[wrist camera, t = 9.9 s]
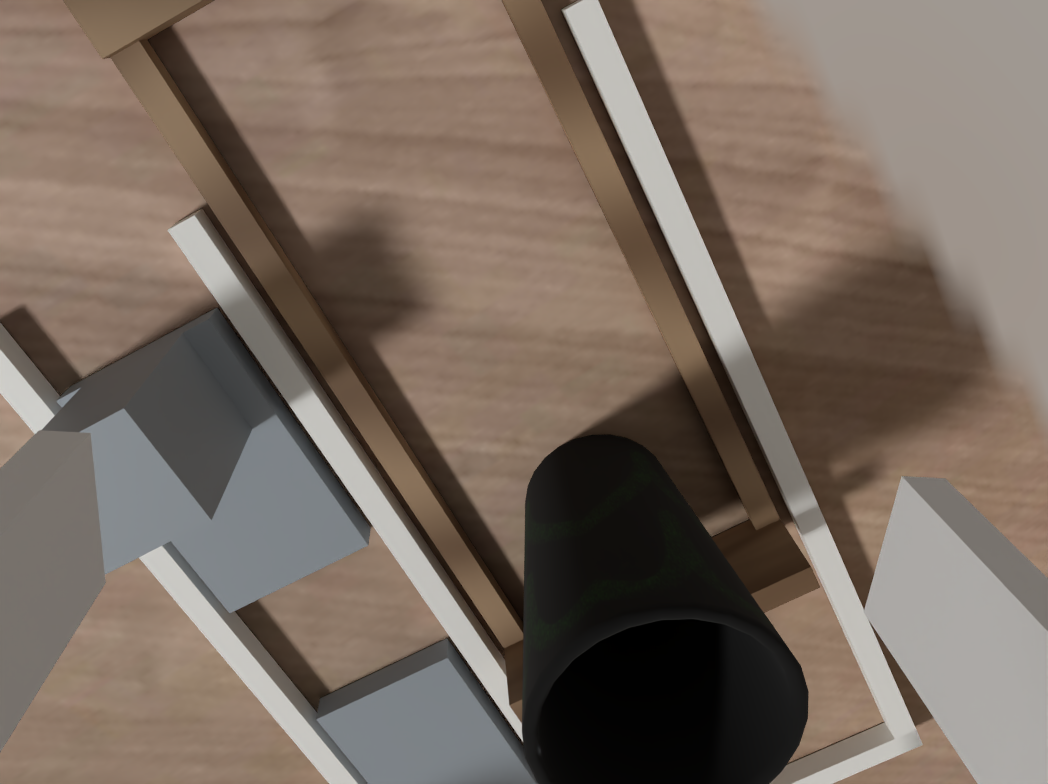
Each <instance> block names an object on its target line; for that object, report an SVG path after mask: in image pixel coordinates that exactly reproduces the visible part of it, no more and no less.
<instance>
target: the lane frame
mask: <svg viewBox="0 0 1048 784" xmlns="http://www.w3.org/2000/svg"><path fill="white" fill-rule="evenodd" d="M561 11H562V13H563V15H564V17H565V20H566V22H567V24H568V26H569V28H570V31H571V33H572V35H573V37H574V39H575V42H576V44H577V46H578V48H579V51H580V53H581V55H582V57H583V59H584V62H585V64H586V66H587V68H588V70H589V73H590V75H591V77H592V79H593V81H594V84H595V86H596V88H597V90H598V92H599V95H600V97H601V99H602V101H603V103H604V106H605V108H606V110H607V112H608V114H609V117H610V119H611V121H612V123H613V125H614V128H615V130H616V132H617V134H618V136H619V139H620V141H621V143H622V145H623V147H624V150H625V152H626V154H627V156H628V158H629V161H630V163H631V165H632V167H633V169H634V172H635V174H636V176H637V178H638V180H639V183H640V185H641V187H642V189H643V191H644V194H645V196H646V198H647V200H648V202H649V205H650V207H651V209H652V211H653V213H654V216H655V218H656V220H657V222H658V224H659V227H660V229H661V231H662V233H663V235H664V238H665V240H666V242H667V244H668V246H669V249H670V251H671V253H672V255H673V257H674V260H675V262H676V264H677V266H678V268H679V271H680V273H681V275H682V277H683V279H684V282H685V284H686V286H687V288H688V290H689V293H690V295H691V297H692V299H693V301H694V304H695V306H696V308H697V310H698V312H699V315H700V317H701V319H702V321H703V323H704V326H705V328H706V330H707V332H708V335H709V337H710V339H711V341H712V343H713V346H714V348H715V350H716V352H717V354H718V357H719V359H720V361H721V363H722V365H723V368H724V370H725V372H726V374H727V376H728V379H729V381H730V383H731V385H732V387H733V390H734V392H735V394H736V396H737V398H738V401H739V403H740V405H741V407H742V409H743V412H744V414H745V416H746V418H747V420H748V423H749V425H750V427H751V429H752V431H753V434H754V436H755V438H756V440H757V442H758V445H759V447H760V449H761V451H762V453H763V456H764V458H765V460H766V462H767V464H768V467H769V469H770V471H771V473H772V475H773V478H774V480H775V482H776V484H777V486H778V489H779V491H780V493H781V495H782V497H783V500H784V502H785V504H786V506H787V508H788V511H789V513H790V515H791V517H792V519H793V522H794V524H795V526H796V528H797V530H798V533H799V535H800V537H801V539H802V541H803V544H804V546H805V548H806V550H807V552H808V555H809V557H810V559H811V561H812V563H813V566H814V568H815V570H816V572H817V574H818V577H819V579H820V581H821V583H822V585H823V588H824V590H825V592H826V594H827V596H828V599H829V601H830V603H831V605H832V607H833V610H834V612H835V614H836V616H837V619H838V621H839V623H840V625H841V627H842V630H843V632H844V634H845V636H846V638H847V641H848V643H849V645H850V647H851V649H852V652H853V654H854V656H855V658H856V660H857V663H858V665H859V667H860V669H861V671H862V674H863V676H864V678H865V680H866V682H867V685H868V687H869V689H870V691H871V693H872V696H873V698H874V700H875V702H876V704H877V707H878V709H879V711H880V713H881V715H882V718H883V720H884V723H882V724H880V725H878V726H875V727H873V728H871V729H868V730H866V731H864V732H861V733H859V734H857V735H854V736H852V737H850V738H848V739H845V740H843V741H841V742H838V743H836V744H834V745H831V746H829V747H827V748H825V749H822V750H820V751H818V752H815V753H813V754H811V755H808V756H806V757H804V758H801V759H799V760H797V761H795V762H792V763H790V764H788V765H786V766H785V768H784V769H783V771H782V772H781V773H780V774H779V775H778V776H777V777H776V778H775V779H774V780H773V781H772V782H771V783H770V784H832V783H835V782H837V781H839V780H842V779H844V778H846V777H849V776H851V775H853V774H856V773H858V772H861V771H863V770H865V769H868V768H870V767H872V766H875V765H877V764H879V763H882V762H884V761H886V760H889V759H891V758H893V757H896V756H898V755H900V754H903V753H905V752H907V751H910V750H912V749H914V748H917V747H919V746H921V745H923V744H922V742H921V740H920V737H919V735H918V733H917V730H916V728H915V726H914V723H913V721H912V719H911V717H910V714H909V712H908V710H907V707H906V705H905V703H904V701H903V698H902V696H901V694H900V691H899V689H898V687H897V684H896V682H895V680H894V678H893V675H892V673H891V671H890V668H889V666H888V664H887V662H886V659H885V657H884V655H883V652H882V650H881V648H880V645H879V643H878V641H877V639H876V636H875V634H874V632H873V629H872V627H871V625H870V623H869V620H868V618H867V617H866V615H865V614H864V609H863V607H862V604H861V602H860V600H859V597H858V595H857V593H856V590H855V588H854V586H853V584H852V581H851V579H850V577H849V574H848V572H847V570H846V568H845V565H844V563H843V561H842V558H841V556H840V554H839V551H838V549H837V547H836V545H835V542H834V540H833V538H832V535H831V533H830V531H829V529H828V526H827V524H826V522H825V519H824V517H823V515H822V513H821V510H820V508H819V506H818V503H817V501H816V499H815V496H814V494H813V492H812V490H811V487H810V485H809V483H808V480H807V478H806V476H805V474H804V471H803V469H802V467H801V464H800V462H799V460H798V457H797V455H796V453H795V451H794V448H793V446H792V444H791V441H790V439H789V437H788V435H787V432H786V430H785V428H784V425H783V423H782V421H781V418H780V416H779V414H778V412H777V409H776V407H775V405H774V402H773V400H772V398H771V396H770V393H769V391H768V389H767V386H766V384H765V382H764V380H763V377H762V375H761V373H760V370H759V368H758V366H757V363H756V361H755V359H754V357H753V354H752V352H751V350H750V347H749V345H748V343H747V341H746V338H745V336H744V334H743V331H742V329H741V327H740V324H739V322H738V320H737V318H736V315H735V313H734V311H733V308H732V306H731V304H730V302H729V299H728V297H727V295H726V292H725V290H724V288H723V285H722V283H721V281H720V279H719V276H718V274H717V272H716V269H715V267H714V265H713V263H712V260H711V258H710V256H709V253H708V251H707V249H706V247H705V244H704V242H703V240H702V237H701V235H700V233H699V230H698V228H697V226H696V224H695V221H694V219H693V217H692V214H691V212H690V210H689V208H688V205H687V203H686V201H685V198H684V196H683V194H682V191H681V189H680V187H679V185H678V182H677V180H676V178H675V175H674V173H673V171H672V169H671V166H670V164H669V162H668V159H667V157H666V155H665V153H664V150H663V148H662V146H661V143H660V141H659V139H658V136H657V134H656V132H655V130H654V127H653V125H652V123H651V120H650V118H649V116H648V114H647V111H646V109H645V107H644V104H643V102H642V100H641V97H640V95H639V93H638V91H637V88H636V86H635V84H634V81H633V79H632V77H631V75H630V72H629V70H628V68H627V65H626V63H625V61H624V58H623V56H622V54H621V52H620V49H619V47H618V45H617V42H616V40H615V38H614V36H613V33H612V31H611V29H610V26H609V24H608V22H607V20H606V17H605V15H604V13H603V10H602V8H601V6H600V3H599V1H598V0H577V1H576V2H574V3H572V4H570V5H568V6H567V7H565V8H563V9H561ZM168 231H169V233H170V234H171V236H172V237H173V239H174V240H175V241H176V243H177V244H178V246H179V247H180V249H181V250H182V252H183V253H184V254H185V256H186V257H187V259H188V260H189V262H190V263H191V265H192V266H193V267H194V269H195V270H196V272H197V273H198V275H199V276H200V277H201V279H202V280H203V282H204V283H205V285H206V286H207V288H208V289H209V290H210V292H211V293H212V295H213V296H214V298H215V299H216V301H217V302H218V303H219V305H220V306H221V308H222V309H223V311H224V312H225V314H226V315H227V316H228V318H229V319H230V321H231V322H232V324H233V325H234V326H235V328H236V329H237V331H238V332H239V334H240V335H241V337H242V338H243V339H244V341H245V342H246V344H247V345H248V347H249V348H250V350H251V351H252V352H253V354H254V355H255V357H256V358H257V360H258V361H259V362H260V364H261V365H262V367H263V368H264V370H265V371H266V373H267V374H268V375H269V377H270V378H271V380H272V381H273V383H274V384H275V386H276V387H277V388H278V390H279V391H280V393H281V394H282V396H283V397H284V399H285V400H286V401H287V403H288V404H289V406H290V407H291V409H292V410H293V411H294V413H295V414H296V416H297V417H298V419H299V420H300V422H301V423H302V424H303V426H304V427H305V429H306V430H307V432H308V433H309V435H310V436H311V437H312V439H313V440H314V442H315V443H316V445H317V446H318V447H319V449H320V450H321V452H322V453H323V455H324V456H325V458H326V459H327V460H328V462H329V463H330V465H331V466H332V468H333V469H334V471H335V472H336V473H337V475H338V476H339V478H340V479H341V481H342V482H343V484H344V485H345V486H346V488H347V489H348V491H349V492H350V494H351V495H352V496H353V498H354V499H355V501H356V502H357V504H358V505H359V507H360V508H361V509H362V511H363V512H364V514H365V515H366V517H367V518H368V520H369V521H370V522H371V524H372V525H373V527H374V528H375V530H376V531H377V533H378V534H379V535H380V537H381V538H382V540H383V541H384V543H385V544H386V545H387V547H388V548H389V550H390V551H391V553H392V554H393V556H394V557H395V558H396V560H397V561H398V563H399V564H400V566H401V567H402V569H403V570H404V571H405V573H406V574H407V576H408V577H409V579H410V580H411V581H412V583H413V584H414V586H415V587H416V589H417V590H418V592H419V593H420V594H421V596H422V597H423V599H424V600H425V602H426V603H427V605H428V606H429V607H430V609H431V610H432V612H433V613H434V615H435V616H436V618H437V619H438V620H439V622H440V623H441V625H442V626H443V628H444V629H445V630H446V632H447V633H448V635H449V636H450V638H451V639H452V641H453V642H454V643H455V645H456V646H457V648H458V649H459V651H460V652H461V654H462V655H463V656H464V658H465V659H466V661H467V662H468V664H469V665H470V666H471V668H472V669H473V671H474V672H475V674H476V675H477V677H478V678H479V679H480V681H481V682H482V684H483V685H484V687H485V688H486V690H487V691H488V692H489V694H490V695H491V697H492V698H493V700H494V701H495V703H496V704H497V705H498V707H499V708H500V710H501V711H502V713H503V714H504V715H505V717H506V718H507V720H508V721H509V723H510V724H511V726H512V727H513V728H514V730H515V731H516V733H517V734H518V736H519V737H520V739H521V740H522V741H523V737H522V723H521V722H520V720H519V719H518V717H517V716H516V714H515V713H514V712H513V710H512V709H511V707H510V706H509V698H508V687H507V676H506V665H505V659H504V658H503V656H502V655H501V653H500V652H499V651H498V649H497V648H496V646H495V645H494V643H493V642H492V640H491V639H490V637H489V636H488V634H487V633H486V631H485V630H484V628H483V627H482V625H481V624H480V622H479V621H478V619H477V618H476V616H475V615H474V613H473V612H472V610H471V609H470V607H469V606H468V604H467V603H466V601H465V600H464V598H463V597H462V595H461V594H460V592H459V591H458V589H457V588H456V586H455V585H454V583H453V582H452V580H451V579H450V577H449V576H448V574H447V573H446V571H445V570H444V568H443V567H442V565H441V564H440V562H439V561H438V559H437V558H436V557H435V555H434V554H433V552H432V551H431V549H430V548H429V546H428V545H427V543H426V542H425V540H424V539H423V537H422V536H421V534H420V533H419V531H418V530H417V528H416V527H415V525H414V524H413V522H412V521H411V519H410V518H409V516H408V515H407V513H406V512H405V510H404V509H403V507H402V506H401V504H400V503H399V501H398V500H397V498H396V497H395V495H394V494H393V492H392V491H391V489H390V488H389V486H388V485H387V483H386V482H385V480H384V479H383V477H382V476H381V474H380V473H379V471H378V470H377V468H376V467H375V465H374V464H373V462H372V461H371V460H370V458H369V457H368V455H367V454H366V452H365V451H364V449H363V448H362V446H361V445H360V443H359V442H358V440H357V439H356V437H355V436H354V434H353V433H352V431H351V430H350V428H349V427H348V425H347V424H346V422H345V421H344V419H343V418H342V416H341V415H340V413H339V412H338V410H337V409H336V407H335V406H334V404H333V403H332V401H331V400H330V398H329V397H328V395H327V394H326V392H325V391H324V389H323V388H322V386H321V385H320V383H319V382H318V380H317V379H316V377H315V376H314V374H313V373H312V371H311V370H310V368H309V367H308V366H307V364H306V363H305V361H304V360H303V358H302V357H301V355H300V354H299V352H298V351H297V349H296V348H295V346H294V345H293V343H292V342H291V340H290V339H289V337H288V336H287V334H286V333H285V331H284V330H283V328H282V327H281V325H280V324H279V322H278V321H277V319H276V318H275V316H274V315H273V313H272V312H271V310H270V309H269V307H268V306H267V304H266V303H265V301H264V300H263V298H262V297H261V295H260V294H259V292H258V291H257V289H256V288H255V286H254V285H253V283H252V282H251V280H250V279H249V277H248V276H247V274H246V273H245V272H244V270H243V269H242V267H241V266H240V264H239V263H238V261H237V260H236V258H235V257H234V255H233V254H232V252H231V251H230V249H229V248H228V246H227V245H226V243H225V242H224V240H223V239H222V237H221V236H220V234H219V233H218V231H217V230H216V228H215V227H214V225H213V224H212V222H211V221H210V219H209V218H208V216H207V215H206V213H205V212H204V210H203V209H200V210H199V211H197V212H195V213H193V214H191V215H190V216H188V217H186V218H184V219H182V220H181V221H179V222H177V223H175V224H174V225H173V226H172V227H171V228H170V229H168ZM0 393H1V394H2V396H3V397H4V398H5V399H6V400H7V401H8V403H9V404H10V405H11V406H12V407H13V409H14V410H15V411H16V412H17V413H18V415H19V416H20V417H21V418H22V419H23V420H24V422H25V423H26V424H27V425H28V426H29V428H30V429H31V430H32V431H33V432H34V434H36V433H37V432H38V431H39V430H42V429H43V428H44V427H45V426H46V425H47V423H48V422H49V421H50V420H51V419H52V418H53V417H54V416H55V415H56V414H57V413H58V412H59V411H60V410H61V408H62V407H61V406H60V405H59V404H58V403H57V399H58V398H59V397H60V396H59V394H58V393H57V392H56V391H55V389H54V388H53V387H52V386H51V384H50V383H49V382H48V381H47V380H46V378H45V377H44V376H43V375H42V373H41V372H40V371H39V370H38V368H37V367H36V366H35V365H34V363H33V362H32V361H31V360H30V359H29V357H28V356H27V355H26V354H25V352H24V351H23V350H22V349H21V347H20V346H19V345H18V344H17V343H16V341H15V340H14V339H13V338H12V336H11V335H10V334H9V333H8V331H7V330H6V329H5V328H4V327H3V325H2V324H1V323H0ZM139 558H140V559H141V561H142V562H143V563H144V564H145V565H146V567H147V568H148V569H149V570H150V571H151V572H152V574H153V575H154V576H155V577H156V578H157V580H158V581H159V582H160V583H161V584H162V586H163V587H164V588H165V589H166V590H167V591H168V593H169V594H170V595H171V596H172V597H173V599H174V600H175V601H176V602H177V603H178V605H179V606H180V607H181V608H182V609H183V610H184V612H185V613H186V614H187V615H188V616H189V618H190V619H191V620H192V621H193V622H194V624H195V625H196V626H197V627H198V628H199V629H200V631H201V632H202V633H203V634H204V635H205V637H206V638H207V639H208V640H209V641H210V643H211V644H212V645H213V646H214V647H215V648H216V650H217V651H218V652H219V653H220V654H221V656H222V657H223V658H224V659H225V660H226V662H227V663H228V664H229V665H230V666H231V667H232V669H233V670H234V671H235V672H236V673H237V675H238V676H239V677H240V678H241V679H242V681H243V682H244V683H245V684H246V685H247V686H248V688H249V689H250V690H251V691H252V692H253V694H254V695H255V696H256V697H257V698H258V700H259V701H260V702H261V703H262V704H263V705H264V707H265V708H266V709H267V710H268V711H269V713H270V714H271V715H272V716H273V717H274V719H275V720H276V721H277V722H278V723H279V724H280V726H281V727H282V728H283V729H284V730H285V732H286V733H287V734H288V735H289V736H290V738H291V739H292V740H293V741H294V742H295V744H296V745H297V746H298V747H299V748H300V749H301V751H302V752H303V753H304V754H305V755H306V757H307V758H308V759H309V760H310V761H311V763H312V764H313V765H314V766H315V767H316V768H317V770H318V771H319V772H320V773H321V774H322V776H323V777H324V778H325V779H326V780H327V782H328V783H329V784H538V783H537V781H536V779H535V777H534V775H533V773H532V771H531V769H530V767H529V765H528V763H527V761H526V759H525V752H524V748H523V746H522V745H521V743H520V742H519V740H518V739H517V738H516V736H515V735H514V733H513V732H512V730H511V729H510V728H509V726H508V725H507V723H506V722H505V720H504V719H503V717H502V716H501V715H500V713H499V712H498V710H497V709H496V707H495V706H494V705H493V703H492V702H491V700H490V699H489V697H488V696H487V694H486V693H485V692H484V690H483V689H482V687H481V686H480V684H479V683H478V682H477V680H476V679H475V677H474V676H473V674H472V673H471V672H470V670H469V669H468V667H467V666H466V664H465V663H464V661H463V660H462V659H461V657H460V656H459V654H458V653H457V651H456V650H455V649H454V647H453V646H452V644H451V643H450V641H449V640H448V638H447V639H445V640H443V641H440V642H438V643H436V644H434V645H432V646H430V647H428V648H426V649H423V650H421V651H419V652H417V653H415V654H413V655H411V656H409V657H407V658H404V659H402V660H400V661H398V662H396V663H394V664H392V665H390V666H388V667H385V668H383V669H381V670H379V671H377V672H375V673H373V674H371V675H369V676H366V677H364V678H362V679H360V680H358V681H356V682H354V683H352V684H350V685H347V686H345V687H343V688H341V689H339V690H337V691H335V692H333V693H330V694H328V695H326V696H324V697H322V698H320V701H319V706H318V712H316V711H315V710H314V708H313V707H312V706H311V705H310V703H309V702H308V701H307V700H306V699H305V697H304V696H303V695H302V694H301V692H300V691H299V690H298V689H297V687H296V686H295V685H294V684H293V682H292V681H291V680H290V679H289V678H288V676H287V675H286V674H285V673H284V671H283V670H282V669H281V668H280V666H279V665H278V664H277V663H276V662H275V660H274V659H273V658H272V657H271V655H270V654H269V653H268V652H267V650H266V649H265V648H264V647H263V646H262V644H261V643H260V642H259V641H258V639H257V638H256V637H255V636H254V634H253V633H252V632H251V631H250V630H249V628H248V627H247V626H246V625H245V623H244V622H243V621H242V620H241V618H240V617H239V616H238V615H237V614H236V612H235V611H234V612H232V613H229V612H228V611H227V610H226V608H225V607H224V606H223V605H222V603H221V602H220V601H219V600H218V599H217V597H216V596H215V595H214V594H213V592H212V591H211V590H210V589H209V588H208V586H207V585H206V584H205V583H204V581H203V580H202V579H201V578H200V577H199V575H198V574H197V573H196V572H195V570H194V569H193V568H192V567H191V566H190V564H189V563H188V562H187V561H186V559H185V558H184V557H183V556H182V554H181V553H180V552H179V551H178V550H177V548H176V547H175V546H174V545H173V543H172V542H171V541H170V542H168V543H166V544H164V545H162V546H160V547H158V548H156V549H154V550H152V551H150V552H148V553H146V554H145V555H143V556H141V557H139Z"/></svg>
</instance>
